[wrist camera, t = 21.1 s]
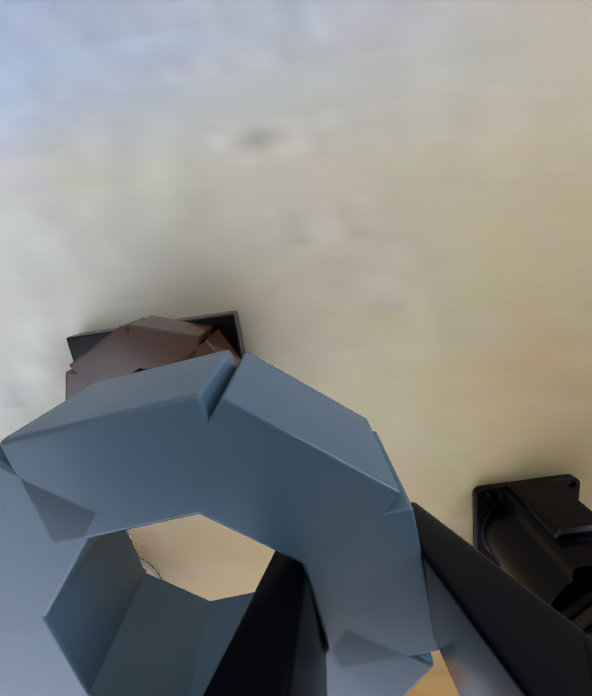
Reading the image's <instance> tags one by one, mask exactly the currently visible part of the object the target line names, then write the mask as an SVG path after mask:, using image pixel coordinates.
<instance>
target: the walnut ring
mask: <svg viewBox="0 0 592 696" xmlns="http://www.w3.org/2000/svg"><path fill="white" fill-rule="evenodd" d="M211 333H212V326H209V325H203V324H197V323H191V322H186V321H180V320H174V319H168V318H162V317H156V316H150V317H148V318H141V319H139V320H136V321H134V322H131V323H128V324H126V325H123V326H120V327H119V328H118V329H116V330H115V331H114V332H112V333H111V334H110V335H108V336H107V337H106V338H104V339H103V340H102V341H100V342H99V343H98V344H96V345H95V346H94V347H93V348H91V349H90V350H89V351H87V352H86V353H85V354H83V355H82V356H81V357H79V358H78V359H77V360H75V361H74V362H73V363H71V364H70V367H71V368H72V369H71V370H69V371H67V372H66V400H68V399H69V398H71V397H73V396H74V395H76V394H77V393H79V392H81V391H82V390H84V389H86V388H87V387H89V386H90V385H92V384H94V383H95V382H99V381H103V380H107V379H111V378H115V377H119V376H123V375H128V374H132V373H135V372H137V371H138V370H139V369H141V368H142V369H152V368H156V367H160V366H164V365H168V364H172V363H176V362H180V361H184V360H188V359H193V358H197V357H201V356H205V355H209V354H213V353H217V352H221V351H225V350H229V351H231V353H232V355H233V358H234V362H235V365H236V368H237V366H238V364H239V363H240V361H241V358H240V357H239V356H238V355H237V353H236V352H235V351H234V349H233V348H232V347H231V346H230V344H229V343H228V342H227V340H226V339H225V338H224V336H223V335H222V334H221V333H220V331H219V330H216V331H215V332H214V333H212V334H211Z"/></svg>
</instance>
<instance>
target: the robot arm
mask: <svg viewBox="0 0 592 696" xmlns="http://www.w3.org/2000/svg"><path fill="white" fill-rule="evenodd" d="M568 483H569V484H568ZM579 489H580V481H579V480H578V479H577V478H576V477H574V476H573V475H571V474H564V475H557V476H549V477H542V478H534V479H527V480H519V481H512V482H504V483H497V484H489V485H482V486H478V487H476V488H475V489H474V490H473V543H474V547H473V546H472V545H470V544H469V543H468V542H466V541H465V540H464V539H462V538H461V537H460V536H458V535H457V534H456V533H455V532H453V531H452V530H451V529H449V528H448V527H447V526H445V525H444V524H443V523H441V522H440V521H439V520H438V519H436V518H435V517H434V516H432V515H431V514H430V513H428V512H427V511H426V510H424V509H423V508H422V507H420V506H419V505H418V504H416V503H414V502H411V505H412V507H413V511H414V516H415V521H416V526H417V531H418V537H419V542H420V547H421V556H422V562H423V569H424V575H425V582H426V589H427V596H428V603H429V610H430V616H431V623H432V630H433V636H434V638H435V641H436V643H437V645H438V648H439V650H440V652H441V654H442V657H443V659H444V661H445V663H446V666H447V668H448V670H449V672H450V675H451V677H452V679H453V681H454V684H455V686H456V688H457V690H458V693H459V695H460V696H592V511H591V510H590V509H589V508H587V507H586V506H585V505H584V504H583V503H581V502H580V501H579ZM483 493H484V494H483ZM481 494H483V495H481ZM480 495H481V496H480ZM203 696H327V666H326V647H325V636H324V633H323V629H322V626H321V623H320V620H319V616H318V613H317V609H316V606H315V602H314V599H313V595H312V591H311V588H310V584H309V580H308V576H307V574H306V572H305V570H304V567H303V564H302V563H301V562H299V561H297V560H295V559H293V558H291V557H289V556H286V555H284V554H282V553H280V552H278V551H275V553H274V555H273V557H272V559H271V561H270V563H269V565H268V567H267V569H266V571H265V573H264V575H263V577H262V579H261V581H260V583H259V585H258V587H257V589H256V591H255V593H254V595H253V597H252V599H251V601H250V603H249V605H248V607H247V609H246V611H245V613H244V615H243V617H242V619H241V621H240V623H239V625H238V627H237V629H236V631H235V633H234V635H233V637H232V639H231V641H230V643H229V645H228V647H227V649H226V651H225V653H224V655H223V657H222V659H221V661H220V663H219V665H218V667H217V669H216V671H215V673H214V675H213V677H212V679H211V681H210V683H209V685H208V687H207V689H206V691H205V693H204V695H203Z"/></svg>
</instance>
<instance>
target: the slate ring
mask: <svg viewBox="0 0 592 696" xmlns="http://www.w3.org/2000/svg"><path fill="white" fill-rule="evenodd" d="M195 514H201V515H203V516H205V517H208V518H210V519H212V520H214V521H216V522H218V523H220V524H222V525H224V526H226V527H228V528H230V529H232V530H235V531H237V532H239V533H241V534H243V535H245V536H247V537H249V538H251V539H253V540H255V541H257V542H259V543H262V544H264V545H266V546H268V547H270V548H272V549H274V550H276V551H278V552H280V553H282V554H284V555H286V556H289V557H291V558H293V559H295V560H297V561H299V562H301V563H302V564H303V567H304V570H305V572H306V574H307V576H308V580H309V584H310V588H311V591H312V595H313V599H314V602H315V606H316V609H317V613H318V616H319V620H320V623H321V626H322V629H323V633H324V636H325V647H326V666H327V696H405V695H406V694H407V693H408V692H409V691H410V690H411V689H412V688H413V686H414V685H415V684H416V683H417V682H418V681H419V680H420V679H421V678H422V677H423V676H424V675H425V674H426V673H427V672H428V671H429V670H430V669H431V667H432V666H433V659H432V656H431V653H430V652H433V651H437V650H439V648H438V645H437V643H436V641H435V638H434V636H433V630H432V623H431V616H430V610H429V603H428V596H427V589H426V582H425V575H424V569H423V562H422V556H421V547H420V542H419V537H418V531H417V526H416V521H415V516H414V511H413V507H412V505H411V503H410V501H409V499H408V497H407V495H406V493H405V491H404V489H403V486H402V484H401V482H400V480H399V478H398V476H397V474H396V472H395V470H394V468H393V466H392V464H391V462H390V459H389V457H388V455H387V453H386V451H385V449H384V447H383V445H382V443H381V441H380V439H379V437H378V434H377V433H376V432H375V431H372V429H371V427H370V425H369V423H368V421H367V419H366V418H364V417H362V416H360V415H359V414H357V413H355V412H353V411H352V410H350V409H348V408H346V407H344V406H343V405H341V404H339V403H337V402H336V401H334V400H332V399H330V398H329V397H327V396H325V395H323V394H321V393H320V392H318V391H316V390H314V389H313V388H311V387H309V386H307V385H306V384H304V383H302V382H300V381H298V380H297V379H295V378H293V377H291V376H290V375H288V374H286V373H284V372H282V371H281V370H279V369H277V368H275V367H274V366H272V365H270V364H268V363H267V362H265V361H263V360H261V359H259V358H258V357H256V356H254V355H252V354H251V353H249V352H246V353H245V354H244V356H243V357H242V359H241V361H240V363H239V364H238V366H237V368H236V365H235V362H234V358H233V355H232V353H231V351H229V350H225V351H221V352H217V353H213V354H209V355H205V356H201V357H197V358H193V359H188V360H184V361H180V362H176V363H172V364H168V365H164V366H160V367H156V368H152V369H148V370H144V371H140V372H136V373H132V374H128V375H123V376H119V377H115V378H111V379H107V380H103V381H99V382H95V383H94V384H92V385H90V386H89V387H87V388H86V389H84V390H82V391H81V392H79V393H77V394H76V395H74V396H73V397H71V398H69V399H68V400H66V401H65V402H63V403H61V404H60V405H58V406H56V407H55V408H53V409H52V410H50V411H48V412H47V413H45V414H43V415H42V416H40V417H39V418H37V419H35V420H34V421H32V422H31V423H29V424H27V425H26V426H24V427H22V428H21V429H19V430H18V431H16V432H14V433H13V434H11V435H9V436H8V437H6V438H5V439H4V440H2V442H1V444H0V696H203V695H204V693H205V691H206V689H207V687H208V685H209V683H210V681H211V679H212V677H213V675H214V673H215V671H216V669H217V667H218V665H219V663H220V661H221V659H222V657H223V655H224V653H225V651H226V649H227V647H228V645H229V643H230V641H231V639H232V637H233V635H234V633H235V631H236V629H237V627H238V625H239V623H240V621H241V619H242V617H243V615H244V613H245V611H246V609H247V607H248V605H249V603H250V601H251V599H252V597H253V595H254V593H255V592H254V593H249V594H244V595H239V596H234V597H229V598H224V599H219V600H215V601H208V600H206V599H204V598H202V597H199V596H197V595H195V594H193V593H190V592H188V591H186V590H184V589H181V588H179V587H177V586H175V585H172V584H170V583H168V582H166V581H163V580H161V579H159V578H157V577H154V576H152V575H150V574H148V573H146V572H145V570H144V568H143V565H142V563H141V561H140V559H139V557H138V554H137V552H136V550H135V548H134V546H133V543H132V541H131V539H130V537H129V534H128V532H127V529H131V528H136V527H140V526H145V525H150V524H154V523H159V522H163V521H168V520H172V519H177V518H181V517H186V516H190V515H195Z"/></svg>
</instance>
